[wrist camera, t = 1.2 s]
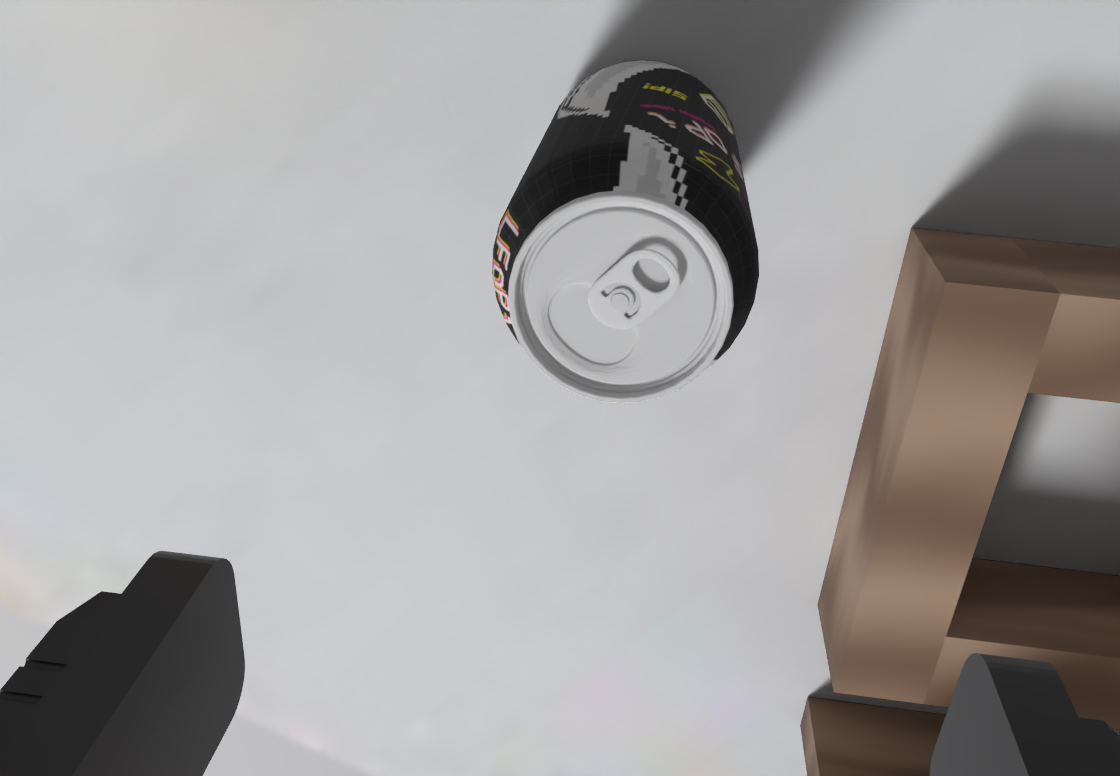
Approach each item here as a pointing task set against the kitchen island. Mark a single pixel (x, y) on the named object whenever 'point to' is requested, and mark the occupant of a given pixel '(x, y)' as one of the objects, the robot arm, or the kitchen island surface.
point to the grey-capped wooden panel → (867, 739)
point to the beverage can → (629, 237)
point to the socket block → (970, 474)
